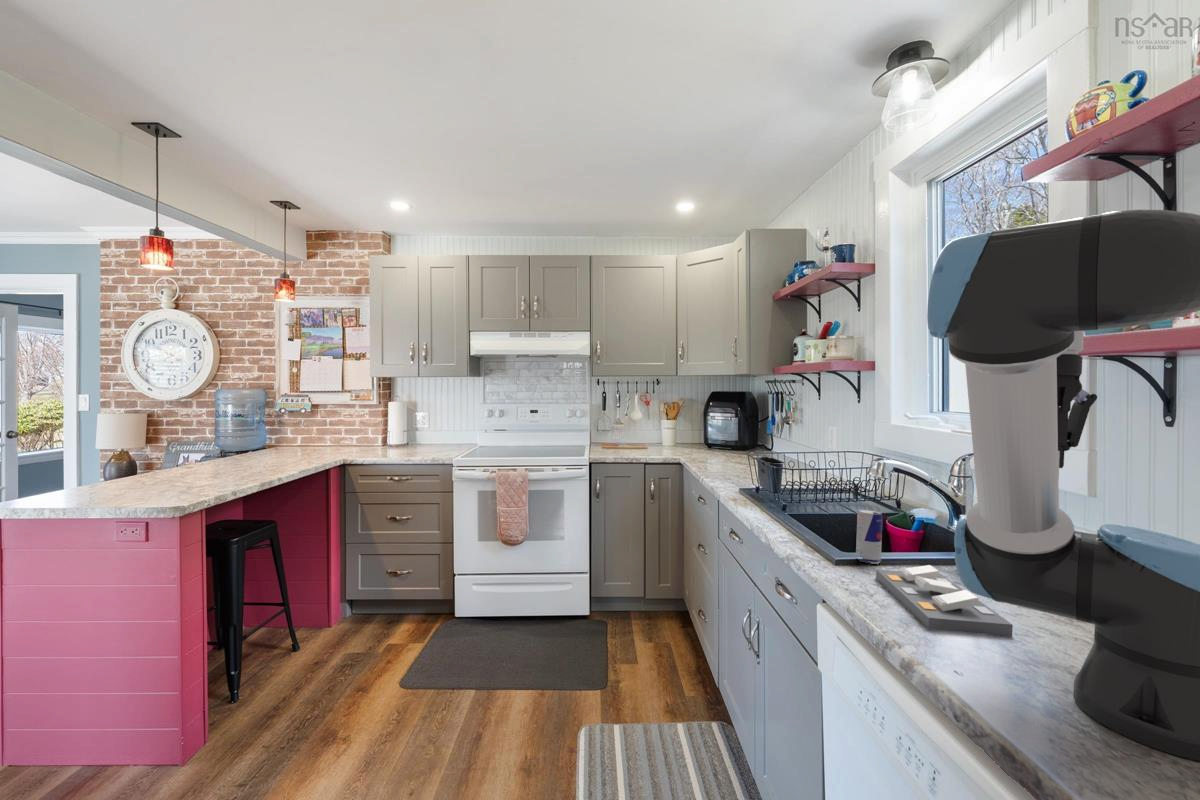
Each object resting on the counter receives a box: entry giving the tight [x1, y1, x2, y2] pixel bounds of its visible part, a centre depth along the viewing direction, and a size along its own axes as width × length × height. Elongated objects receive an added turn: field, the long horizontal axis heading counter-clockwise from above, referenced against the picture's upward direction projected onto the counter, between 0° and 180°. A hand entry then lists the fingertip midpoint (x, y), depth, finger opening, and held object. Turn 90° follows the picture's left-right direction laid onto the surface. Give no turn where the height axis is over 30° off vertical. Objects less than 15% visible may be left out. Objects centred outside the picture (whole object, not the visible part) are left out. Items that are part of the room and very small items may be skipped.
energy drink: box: [855, 508, 883, 565], centre depth 124 cm, size 5×5×12 cm
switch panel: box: [875, 569, 1014, 637], centre depth 100 cm, size 24×13×2 cm, turn 171°
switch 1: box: [899, 564, 940, 581], centre depth 107 cm, size 4×6×1 cm, turn 81°
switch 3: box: [932, 589, 980, 611], centre depth 93 cm, size 4×6×1 cm, turn 81°
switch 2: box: [915, 576, 958, 594], centre depth 100 cm, size 4×6×1 cm, turn 81°
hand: (1048, 485), depth 93 cm, fingers closed
